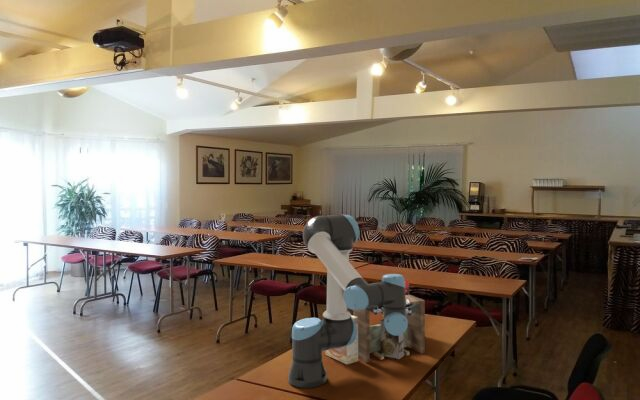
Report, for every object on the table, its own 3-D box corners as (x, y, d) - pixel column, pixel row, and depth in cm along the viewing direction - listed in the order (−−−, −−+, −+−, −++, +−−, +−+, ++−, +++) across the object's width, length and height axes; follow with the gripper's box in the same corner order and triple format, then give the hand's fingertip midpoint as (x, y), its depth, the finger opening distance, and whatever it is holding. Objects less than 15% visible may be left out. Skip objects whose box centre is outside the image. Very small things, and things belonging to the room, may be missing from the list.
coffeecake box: (324, 355, 214) (324, 312, 213) (337, 351, 218) (336, 309, 218) (346, 365, 202) (346, 319, 201) (359, 361, 206) (358, 316, 206)
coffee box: (404, 355, 213) (404, 319, 212) (399, 359, 207) (398, 323, 207) (386, 351, 218) (385, 316, 217) (380, 355, 212) (379, 320, 212)
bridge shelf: (365, 363, 204) (365, 307, 203) (353, 353, 215) (352, 301, 214) (424, 353, 215) (424, 300, 214) (410, 344, 226) (410, 294, 225)
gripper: (358, 324, 171) (359, 310, 192) (428, 326, 169) (421, 312, 190) (358, 303, 171) (359, 292, 192) (429, 304, 169) (421, 293, 190)
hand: (390, 302), depth 191 cm, fingers open, 13 cm apart
